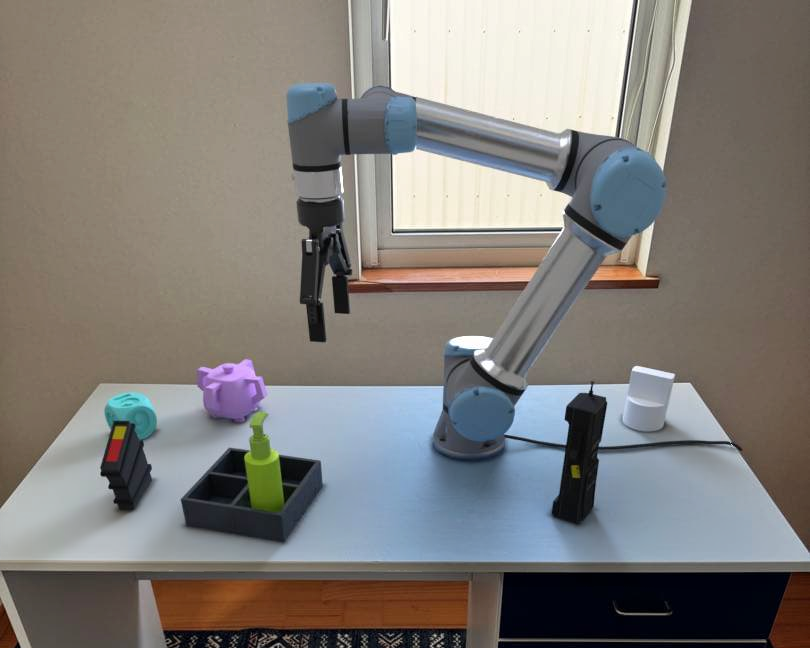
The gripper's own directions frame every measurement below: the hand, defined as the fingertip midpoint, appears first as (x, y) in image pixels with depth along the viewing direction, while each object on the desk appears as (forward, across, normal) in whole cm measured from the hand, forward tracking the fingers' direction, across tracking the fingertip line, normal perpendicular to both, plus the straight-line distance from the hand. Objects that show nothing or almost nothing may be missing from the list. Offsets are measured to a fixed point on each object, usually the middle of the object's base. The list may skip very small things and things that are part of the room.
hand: (330, 326), depth 133 cm
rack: (+31, +13, -13) cm, 36 cm away
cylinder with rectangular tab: (+33, -38, +59) cm, 77 cm away
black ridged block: (+30, +16, -37) cm, 51 cm away
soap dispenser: (+30, +18, -9) cm, 36 cm away
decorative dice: (+30, -7, -50) cm, 59 cm away
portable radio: (+32, +2, +45) cm, 56 cm away
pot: (+31, -22, -33) cm, 50 cm away
